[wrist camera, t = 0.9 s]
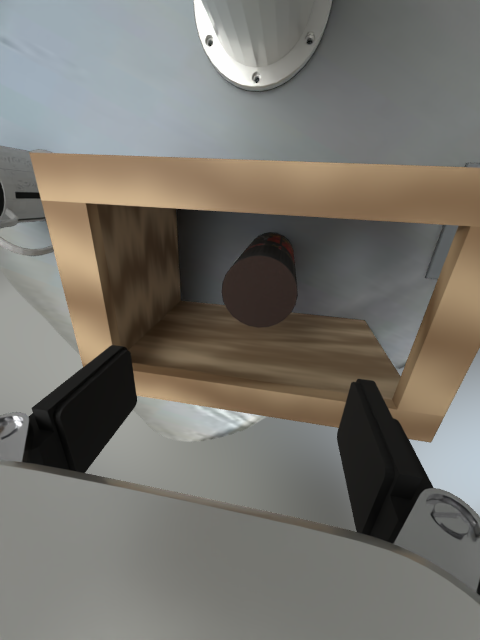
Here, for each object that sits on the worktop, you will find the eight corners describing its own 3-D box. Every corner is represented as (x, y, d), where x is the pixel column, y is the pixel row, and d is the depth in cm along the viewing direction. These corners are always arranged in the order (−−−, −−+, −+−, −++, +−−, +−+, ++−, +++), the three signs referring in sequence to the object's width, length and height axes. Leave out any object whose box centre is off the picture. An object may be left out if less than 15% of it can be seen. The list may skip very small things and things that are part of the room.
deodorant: (291, 279, 35) (294, 329, 21) (247, 277, 36) (223, 325, 22) (295, 232, 32) (300, 256, 19) (247, 232, 33) (220, 254, 20)
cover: (166, 177, 32) (29, 152, 15) (401, 188, 29) (569, 170, 11) (174, 306, 39) (88, 387, 22) (362, 326, 36) (431, 442, 19)
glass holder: (30, 132, 32) (-152, 84, 19) (124, 212, 35) (21, 220, 21) (11, 192, 36) (-153, 188, 23) (98, 261, 38) (-5, 295, 25)
